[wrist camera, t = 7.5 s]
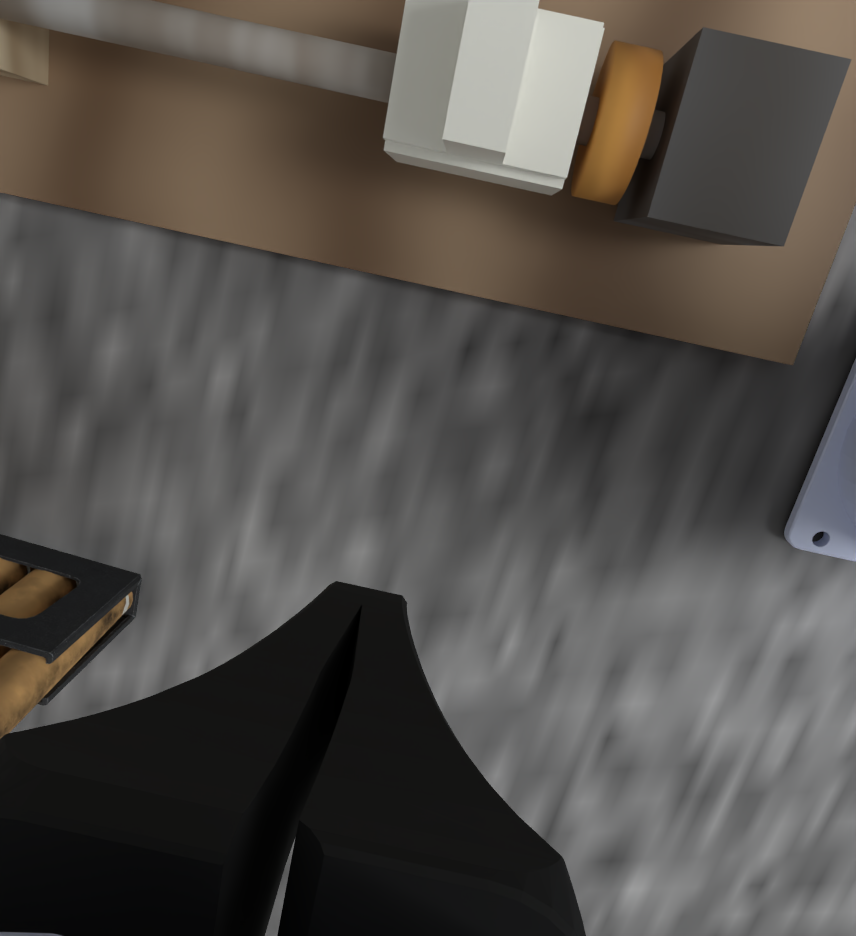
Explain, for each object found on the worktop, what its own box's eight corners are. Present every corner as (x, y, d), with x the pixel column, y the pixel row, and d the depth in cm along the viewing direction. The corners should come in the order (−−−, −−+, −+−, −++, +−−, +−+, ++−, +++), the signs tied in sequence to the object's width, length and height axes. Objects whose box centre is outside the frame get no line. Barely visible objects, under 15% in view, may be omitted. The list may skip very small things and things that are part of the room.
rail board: (909, 13, 17) (1074, -73, 12) (778, 359, 20) (870, 397, 15) (-12, -186, 17) (-201, -348, 13) (-9, 187, 20) (-161, 172, 16)
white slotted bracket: (586, 53, 16) (628, -20, 12) (551, 195, 17) (576, 180, 13) (421, 17, 16) (398, -69, 12) (396, 161, 17) (366, 134, 13)
